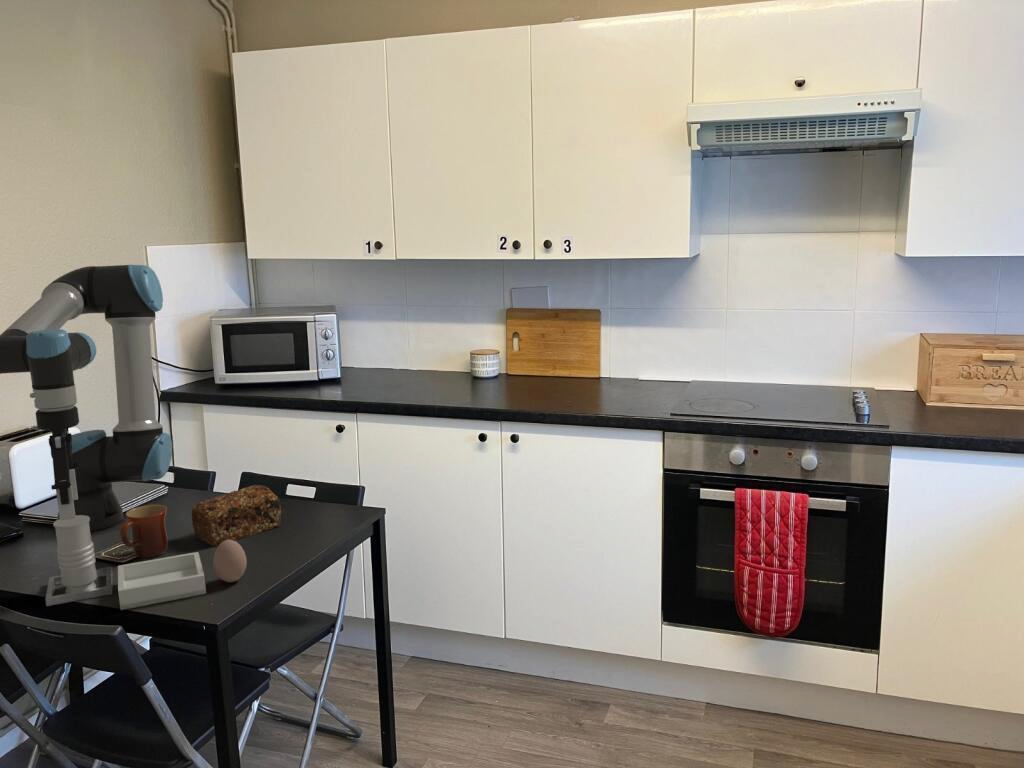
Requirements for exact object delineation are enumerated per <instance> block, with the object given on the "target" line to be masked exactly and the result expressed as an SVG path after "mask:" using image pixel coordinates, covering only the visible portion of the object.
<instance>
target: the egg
mask: <svg viewBox="0 0 1024 768" xmlns="http://www.w3.org/2000/svg"><path fill="white" fill-rule="evenodd" d="M246 555H247V554H246V553H245V550H244V549H243V547H242V545H240V544H239V542H238V541H237V540H235V541H233V540H225V541H223V542H222V543H221V544H220V545H219V546H217V548H216V550H215V552H214V555H213V561H212V563H213V570H214V573H215V575H216V576H217V577H218V578H219V579H220V580H221V581H224V582H225V583H234V582H237V581H238V580H239V579H241V577H243V575H244V573H245V571H246V569H247V565H248V564H247V563H248V562H247V556H246Z"/></svg>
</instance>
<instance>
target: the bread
mask: <svg viewBox="0 0 1024 768" xmlns="http://www.w3.org/2000/svg"><path fill="white" fill-rule="evenodd" d="M280 501H281V500H280V499H279V497H278V496H277V495H276V494H275V493H274V492H273V491H272V490H271V489H270V488H268V487H267V486H265V485H259V484H254V485H251V486H246V487H244V488H241V489H238V490H233V491H230V492H229V493H224V494H222V495H220V496H216V497H212V498H209V499H207V500H203V501H201V502H198V503H197V504H195V505H194V506H193V507H192V510H191V520H192V523H191V524H192V528H193V531H194V535H195V537H196V538H198V539H199V540H200V541H201V542H202V541H203V542H206V543H207V545H210V546H211V547H218V546H219V545H220V544H221V543H222V542H223V541H225V540H233V541H238V540H240V539H243V538H244V539H245V538H247V537H251V536H253V535H255V534H258V533H264V532H267V531H269V530H272V529H274V528H276V527H279V526H280V525H281V523H282V522H281V513H282V510H281V509H282V507H281V506H282V505H280Z"/></svg>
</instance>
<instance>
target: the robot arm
mask: <svg viewBox="0 0 1024 768" xmlns="http://www.w3.org/2000/svg"><path fill="white" fill-rule="evenodd" d="M163 302H164V297H163V291H162V286H161V283H160V280H159V278H158V275H157V274H156V272H155V271H154V270H153V269H152V267H150V266H149V265H144V264H143V265H142V264H141V265H140V264H123V265H122V264H119V265H117V264H116V265H102V266H100V265H99V266H96V265H93V266H92V265H91V266H83V267H80V268H76V269H74V270H72V271H69V272H67V273H65V274H63V275H61V276H59V277H58V278H56V279H54V280H53V281H52V282H50V283H49V284H48V285H46V287H44V289H43V290H42V292H41V295H40V298H39V300H37V301H36V302H35V303H34V304H32V305H31V306H30V307H29V308H28V309H27V310H26V311H25V312H24V313H23V314H22V315H21V316H19V317H18V318H17V319H16V320H15V321H14V322H12V324H10V326H8V327H7V328H6V329H5V330H4V331H3V332H2V333H1V334H0V375H1V374H20V373H29V374H30V381H31V387H32V393H30V394H29V398H30V399H33V402H34V408H36V409H37V410H36V412H35V419H36V421H35V422H36V426H37V429H38V430H42V431H51V435H49V438H48V445H49V448H50V455H51V459H52V467H53V477H54V484H53V485H51V490H53V491H54V490H55V492H56V499H57V500H56V501H57V506H58V507H57V508H58V511H57V512H58V513H57V518H56V521H57V520H59V519H60V521H61V520H68V519H74V518H75V516H76V515H85V516H89V517H90V521H89V527H90V532H96V531H100V530H104V529H106V528H110V527H113V526H115V525H117V524H119V523H120V522H121V521H122V520H123V519H124V512H123V508H122V506H121V505H122V504H120V501H119V499H118V498H117V496H116V494H115V492H114V490H113V484H112V483H123V482H128V483H129V482H139V481H140V482H141V481H142V482H148V481H154V480H155V481H157V480H160V479H162V478H164V477H165V476H166V474H167V473H168V470H170V469H169V468H170V465H171V461H172V454H173V441H172V437H171V435H170V434H169V433H166V432H164V431H163V430H164V429H163V425H162V424H161V423H160V422H158V420H157V419H156V406H155V405H156V404H155V389H154V375H153V373H154V372H153V359H152V345H151V344H152V343H151V342H152V341H151V330H150V329H151V328H150V326H151V324H152V323H154V321H156V313H157V312H158V313H159V312H160V311H161V310H162V308H163ZM87 314H104V321H105V322H107V323H108V324H109V325H110V326H111V327H112V328H111V329H112V340H113V341H112V343H113V357H114V370H115V371H114V373H115V388H116V389H115V390H116V399H117V400H116V401H117V402H116V403H117V413H118V414H117V416H118V423H117V424H116V425H115V426H114V427H113V428H112V435H111V436H110V435H109V436H107V433H106V431H105V430H104V429H90V430H87V431H82V432H77V433H74V434H72V433H70V431H69V428H74V427H76V426H78V425H79V424H80V417H79V408H78V407H77V406H76V405H77V404H78V400H77V390H76V384H75V379H74V378H75V377H74V372H75V371H78V370H81V369H83V368H85V367H86V366H88V365H89V364H91V363H93V361H94V360H95V358H96V355H97V345H96V343H95V341H94V340H93V338H92V337H90V336H89V335H87V334H86V333H83V332H77V331H76V332H67V331H66V330H65V329H61V328H62V327H63V326H64V325H65V324H66V323H68V321H72V320H75V319H76V318H78V317H80V315H87Z"/></svg>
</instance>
